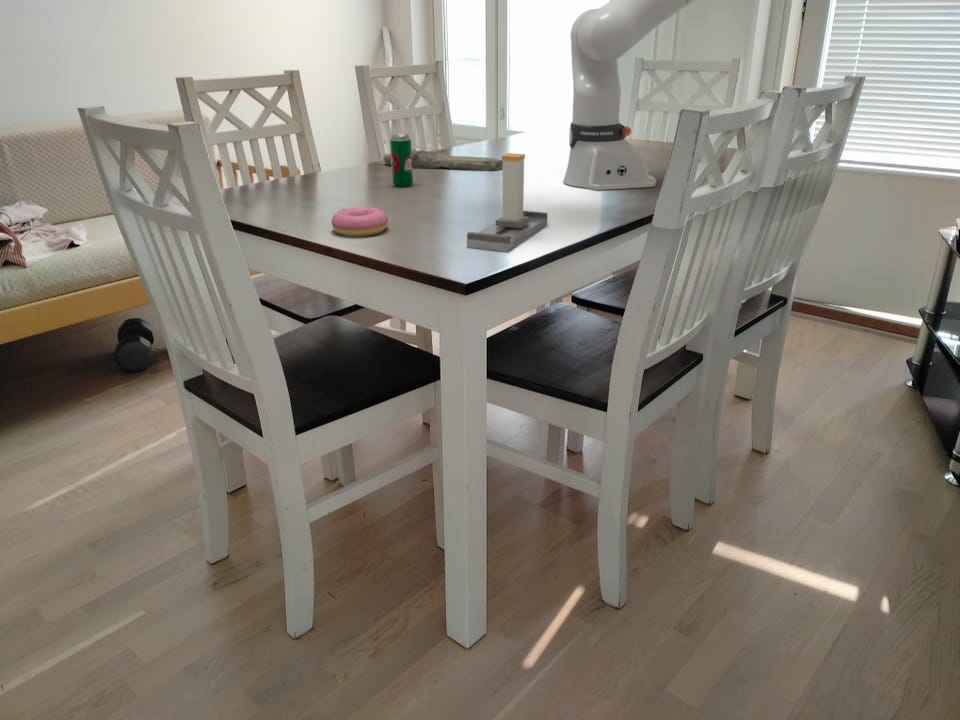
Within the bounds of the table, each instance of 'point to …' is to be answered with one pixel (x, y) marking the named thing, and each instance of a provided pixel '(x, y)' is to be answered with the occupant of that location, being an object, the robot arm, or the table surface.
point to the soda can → (401, 160)
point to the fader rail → (507, 234)
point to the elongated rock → (450, 161)
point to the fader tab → (513, 192)
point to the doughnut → (359, 221)
